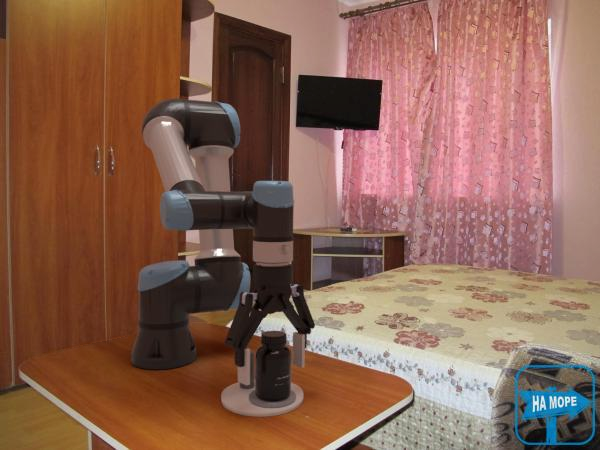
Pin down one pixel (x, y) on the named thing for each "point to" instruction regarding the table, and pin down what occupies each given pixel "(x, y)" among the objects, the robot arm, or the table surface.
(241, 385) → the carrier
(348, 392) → the table surface
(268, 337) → the supplement bottle
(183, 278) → the robot arm
